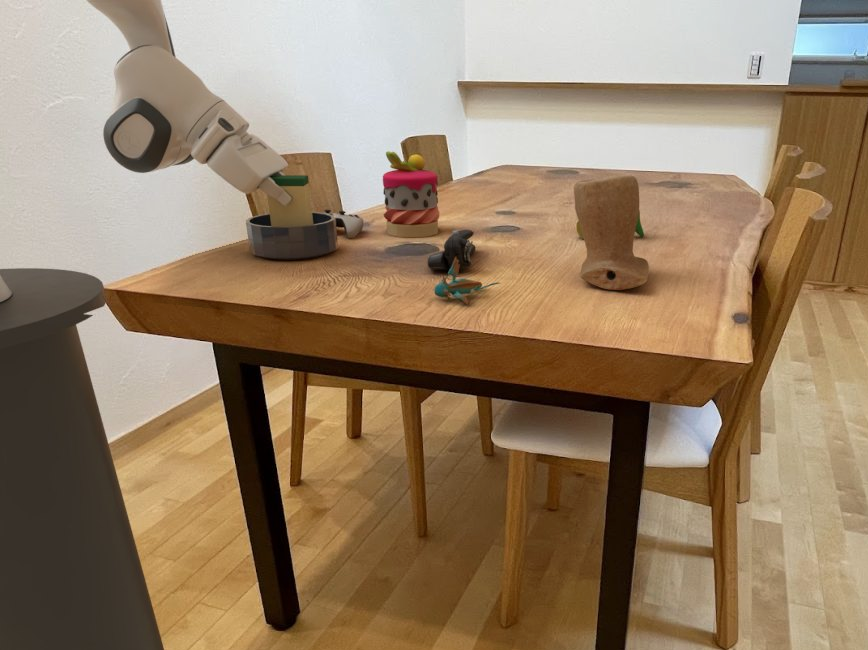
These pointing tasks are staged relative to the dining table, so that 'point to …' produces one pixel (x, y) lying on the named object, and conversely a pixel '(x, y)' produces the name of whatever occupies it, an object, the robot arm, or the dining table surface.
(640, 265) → the brown clay sculpture
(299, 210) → the sponge
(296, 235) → the bowl
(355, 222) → the gaming controller
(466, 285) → the dragon figurine
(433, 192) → the cake
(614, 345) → the dining table surface
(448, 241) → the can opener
